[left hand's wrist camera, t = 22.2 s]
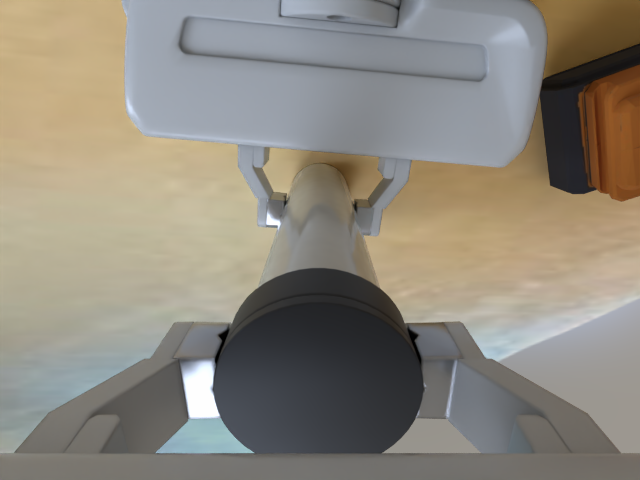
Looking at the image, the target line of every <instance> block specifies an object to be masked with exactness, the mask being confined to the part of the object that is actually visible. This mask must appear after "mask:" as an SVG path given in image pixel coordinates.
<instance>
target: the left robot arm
mask: <svg viewBox="0 0 640 480" xmlns="http://www.w3.org/2000/svg"><path fill="white" fill-rule="evenodd" d="M231 325H232V324H231V323H225V322H176V323H174V324H173V325H172V327H171V328H170V330H169V331H168V333H167V334H166V336H165V337H164V339H163V340H162V342H161V343H160V345H159V346H158V348H157V349H156V351H155V352H154V354H153V355H152V357H151V358H150V359H143V360H142V361H140V362H138V363H136V364H135V365H133V366H131V367H129V368H127V369H126V370H124V371H122V372H120V373H119V374H117V375H115V376H113V377H112V378H110V379H108V380H106V381H104V382H103V383H101V384H99V385H97V386H96V387H94V388H92V389H90V390H88V391H87V392H85V393H83V394H81V395H80V396H78V397H76V398H74V399H72V400H71V401H69V402H67V403H65V404H64V405H62V406H60V407H58V408H56V409H55V410H53V411H51V412H49V413H48V414H47V415H46V416H45V418H44V419H43V420H42V421H41V422H40V423H39V425H38V426H37V427H36V428H35V429H34V430H33V431H32V433H31V434H30V435H29V436H28V437H27V438H26V440H25V441H24V442H23V443H22V444H21V445H20V446H19V448H18V449H17V450H16V451H15V452H14V453H0V480H640V453H621V452H620V451H619V450H618V449H617V448H616V447H615V445H614V444H613V443H612V442H611V441H610V439H609V438H608V437H607V436H606V435H605V434H604V432H603V431H602V430H601V429H600V428H599V427H598V425H597V424H596V423H595V422H594V421H593V419H592V418H591V417H590V416H589V415H588V414H587V413H586V412H584V411H582V410H580V409H579V408H577V407H575V406H573V405H572V404H570V403H568V402H566V401H565V400H563V399H561V398H559V397H558V396H556V395H554V394H552V393H551V392H549V391H547V390H545V389H544V388H542V387H540V386H538V385H537V384H535V383H533V382H531V381H530V380H528V379H526V378H524V377H523V376H521V375H519V374H517V373H516V372H514V371H512V370H510V369H509V368H507V367H505V366H503V365H501V364H500V363H498V362H496V361H495V360H493V359H486V358H485V357H484V355H483V353H482V352H481V350H480V349H479V347H478V346H477V344H476V343H475V341H474V340H473V338H472V337H471V335H470V334H469V332H468V330H467V329H466V327H465V326H464V324H463V323H461V322H437V323H405V325H406V328H407V331H408V333H409V336H410V339H411V341H412V344H413V346H414V349H415V352H416V355H417V357H418V360H419V362H420V365H421V369H422V374H423V383H424V390H423V398H422V402H421V406H420V409H419V412H418V414H417V416H416V418H432V419H449V422H450V423H451V424H452V425H453V426H454V427H456V428H457V429H458V430H459V431H460V432H461V433H462V434H463V435H464V436H465V437H466V438H467V439H468V440H469V441H470V442H471V443H472V444H473V445H474V446H475V447H476V448H477V449H478V450H479V451H480V452H481V453H155V452H156V451H157V450H158V449H159V448H161V447H162V446H163V445H164V444H165V443H166V442H167V441H168V440H169V439H170V438H171V437H172V436H173V435H174V434H175V433H176V432H177V431H178V430H179V429H180V428H181V427H182V426H183V425H184V424H185V423H186V422H187V421H188V419H204V418H221V417H220V415H219V412H218V410H217V407H216V403H215V400H214V393H213V377H214V372H215V367H216V364H217V361H218V359H219V356H220V353H221V351H222V348H223V346H224V343H225V341H226V338H227V336H228V333H229V330H230V328H231Z"/></svg>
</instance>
